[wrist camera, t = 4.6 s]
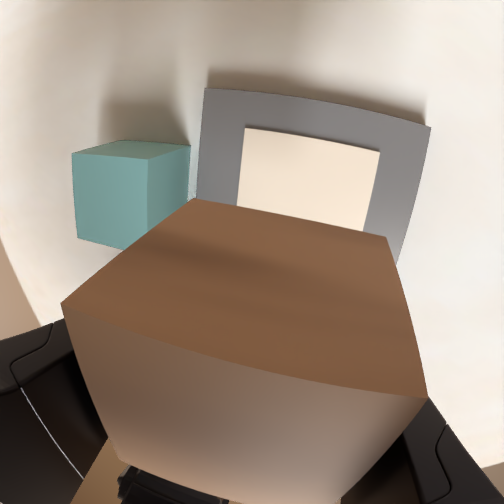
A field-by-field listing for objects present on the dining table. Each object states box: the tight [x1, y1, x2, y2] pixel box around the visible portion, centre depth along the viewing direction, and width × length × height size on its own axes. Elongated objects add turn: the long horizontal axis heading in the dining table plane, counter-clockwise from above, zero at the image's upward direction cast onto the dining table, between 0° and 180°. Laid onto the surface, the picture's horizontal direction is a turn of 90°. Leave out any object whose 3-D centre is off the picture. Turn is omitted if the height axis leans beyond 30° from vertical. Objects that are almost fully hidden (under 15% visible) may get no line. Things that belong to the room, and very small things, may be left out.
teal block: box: [72, 140, 191, 250], centre depth 18 cm, size 5×5×5 cm
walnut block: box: [60, 198, 428, 504], centre depth 7 cm, size 5×5×5 cm
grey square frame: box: [196, 88, 431, 265], centre depth 18 cm, size 11×12×1 cm
